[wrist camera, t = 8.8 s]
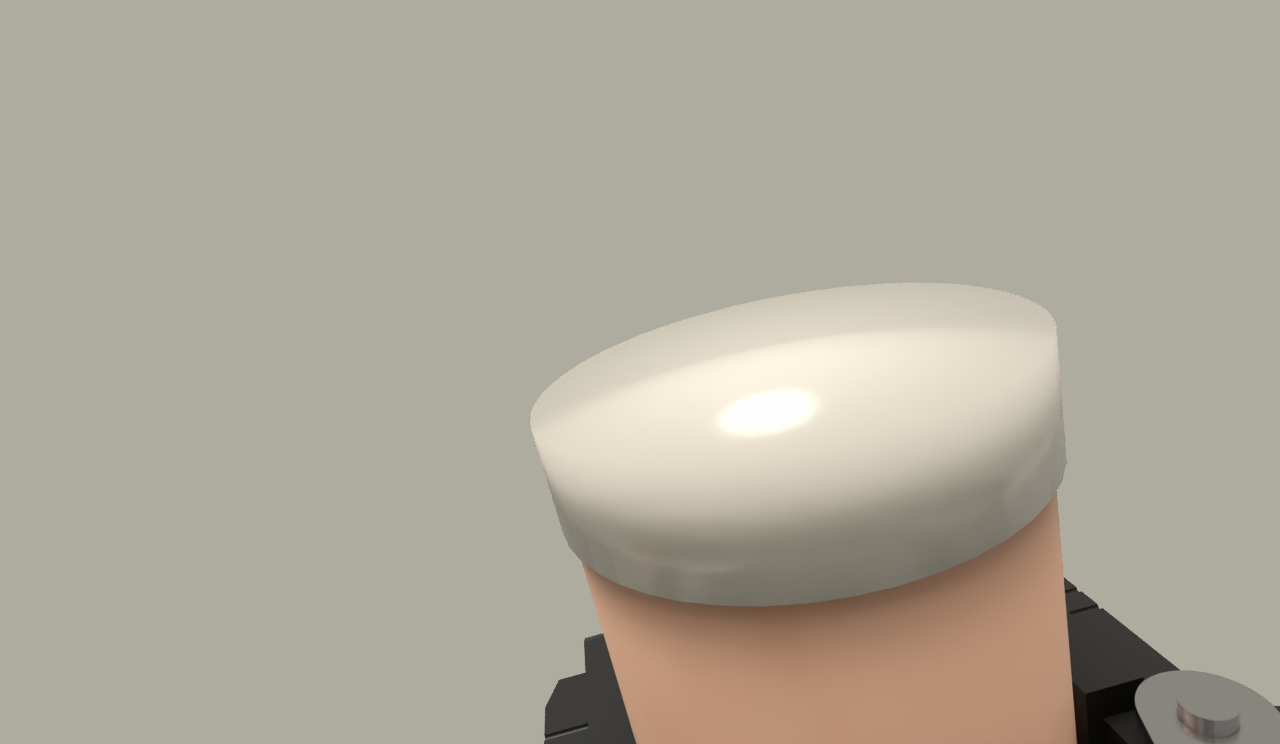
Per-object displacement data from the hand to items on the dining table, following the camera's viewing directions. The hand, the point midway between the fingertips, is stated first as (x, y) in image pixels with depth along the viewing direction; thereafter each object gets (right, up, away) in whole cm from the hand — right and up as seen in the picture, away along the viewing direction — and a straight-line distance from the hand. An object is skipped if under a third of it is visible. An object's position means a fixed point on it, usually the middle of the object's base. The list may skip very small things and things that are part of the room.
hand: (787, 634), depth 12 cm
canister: (+2, -7, -1) cm, 7 cm away
